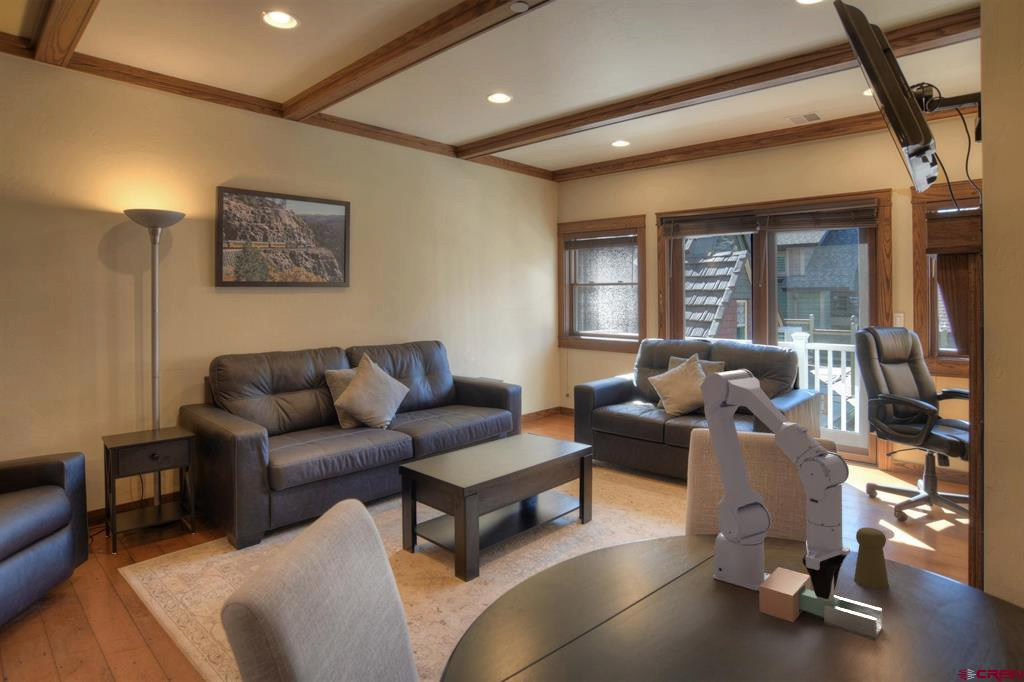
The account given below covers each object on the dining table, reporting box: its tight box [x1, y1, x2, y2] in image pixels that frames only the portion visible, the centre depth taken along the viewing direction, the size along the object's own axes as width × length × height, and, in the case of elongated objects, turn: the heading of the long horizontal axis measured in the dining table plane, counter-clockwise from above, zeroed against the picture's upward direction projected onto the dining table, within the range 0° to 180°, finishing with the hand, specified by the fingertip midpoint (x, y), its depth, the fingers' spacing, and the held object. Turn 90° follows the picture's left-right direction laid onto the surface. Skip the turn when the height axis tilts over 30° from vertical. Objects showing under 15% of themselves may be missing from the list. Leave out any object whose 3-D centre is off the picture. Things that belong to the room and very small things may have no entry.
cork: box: [853, 527, 889, 590], centre depth 120 cm, size 6×6×11 cm
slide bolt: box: [799, 576, 840, 617], centre depth 109 cm, size 8×3×8 cm, turn 46°
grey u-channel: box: [823, 595, 883, 641], centre depth 105 cm, size 8×5×4 cm, turn 46°
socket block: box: [758, 566, 812, 623], centre depth 113 cm, size 6×10×5 cm, turn 136°
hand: (825, 593), depth 108 cm, fingers closed on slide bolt, 3 cm apart
